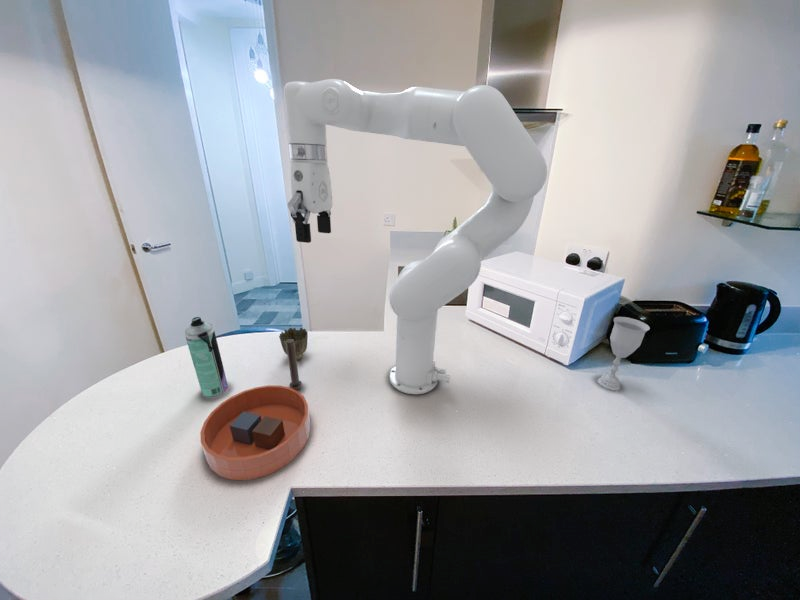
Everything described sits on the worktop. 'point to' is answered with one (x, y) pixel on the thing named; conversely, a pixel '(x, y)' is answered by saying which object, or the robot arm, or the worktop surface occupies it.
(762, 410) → the worktop surface
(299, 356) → the cup
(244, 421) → the slate block
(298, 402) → the bowl
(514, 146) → the robot arm
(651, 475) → the worktop surface
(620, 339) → the chalice
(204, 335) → the spray can
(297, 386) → the muddler
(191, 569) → the worktop surface
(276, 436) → the walnut block
